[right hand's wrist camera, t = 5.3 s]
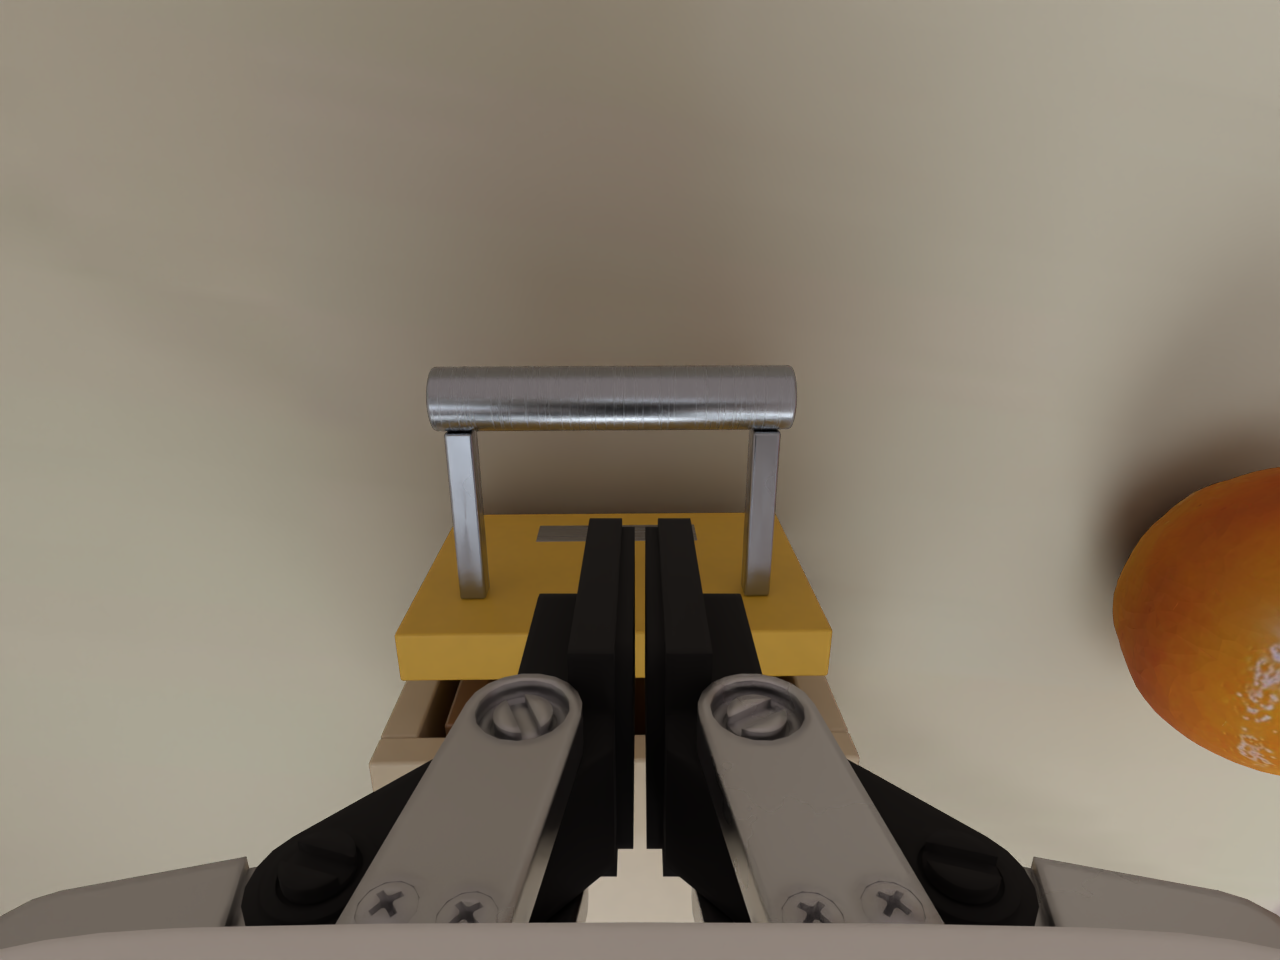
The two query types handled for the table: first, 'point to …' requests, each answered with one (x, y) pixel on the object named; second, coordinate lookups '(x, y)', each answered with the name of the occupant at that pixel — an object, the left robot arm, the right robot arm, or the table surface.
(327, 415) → the table surface
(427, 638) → the drawer
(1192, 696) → the fruit
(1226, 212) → the table surface
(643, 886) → the cabinet
